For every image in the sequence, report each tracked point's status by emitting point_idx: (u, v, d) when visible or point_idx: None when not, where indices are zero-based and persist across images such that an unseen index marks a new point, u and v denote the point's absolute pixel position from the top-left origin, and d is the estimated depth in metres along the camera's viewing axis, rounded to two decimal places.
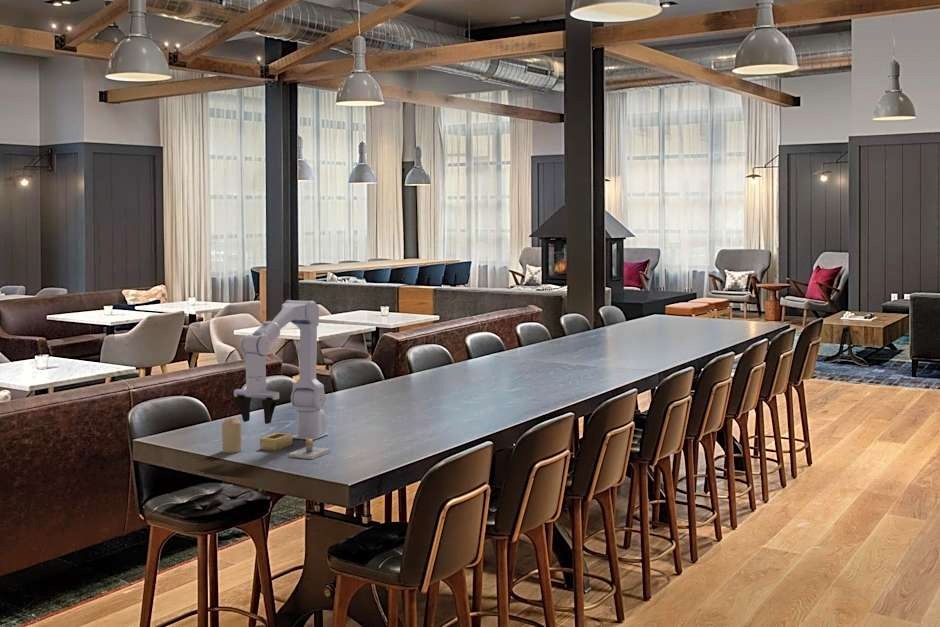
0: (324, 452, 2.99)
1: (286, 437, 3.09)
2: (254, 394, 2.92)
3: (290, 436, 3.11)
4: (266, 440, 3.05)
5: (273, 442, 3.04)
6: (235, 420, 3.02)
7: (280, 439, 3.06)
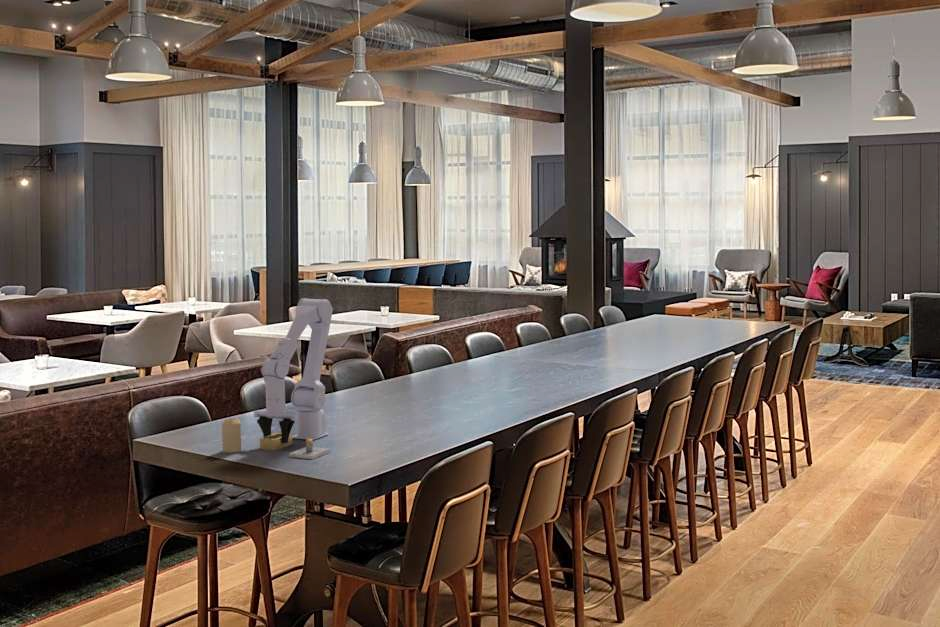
0: (324, 452, 2.99)
1: None
2: (274, 415, 3.05)
3: (290, 436, 3.11)
4: (266, 440, 3.05)
5: (273, 442, 3.04)
6: (235, 420, 3.02)
7: (280, 439, 3.06)
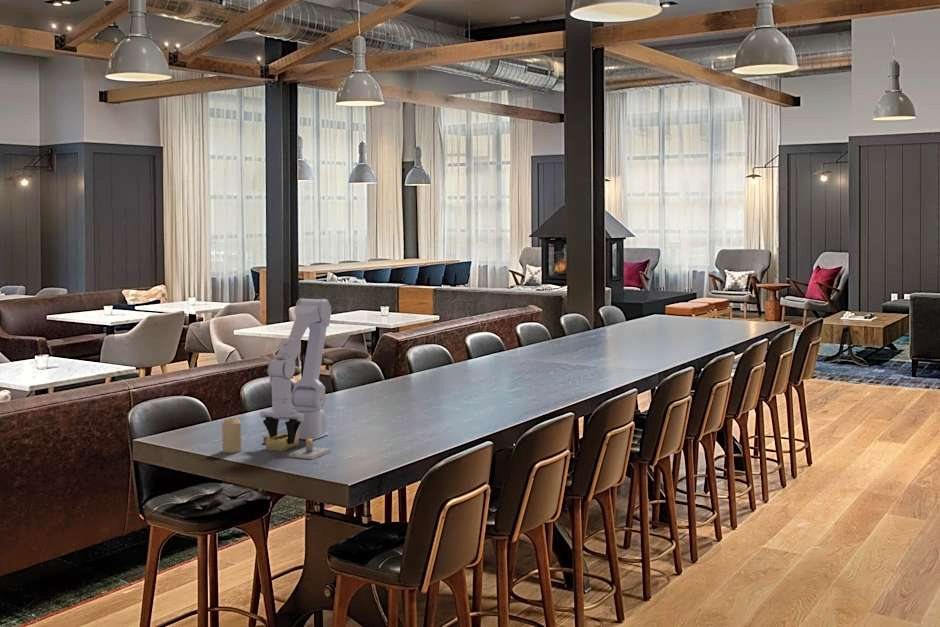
0: (324, 452, 2.99)
1: None
2: (280, 416, 3.04)
3: (296, 437, 3.10)
4: (272, 441, 3.04)
5: (279, 443, 3.03)
6: (235, 420, 3.02)
7: (286, 440, 3.05)
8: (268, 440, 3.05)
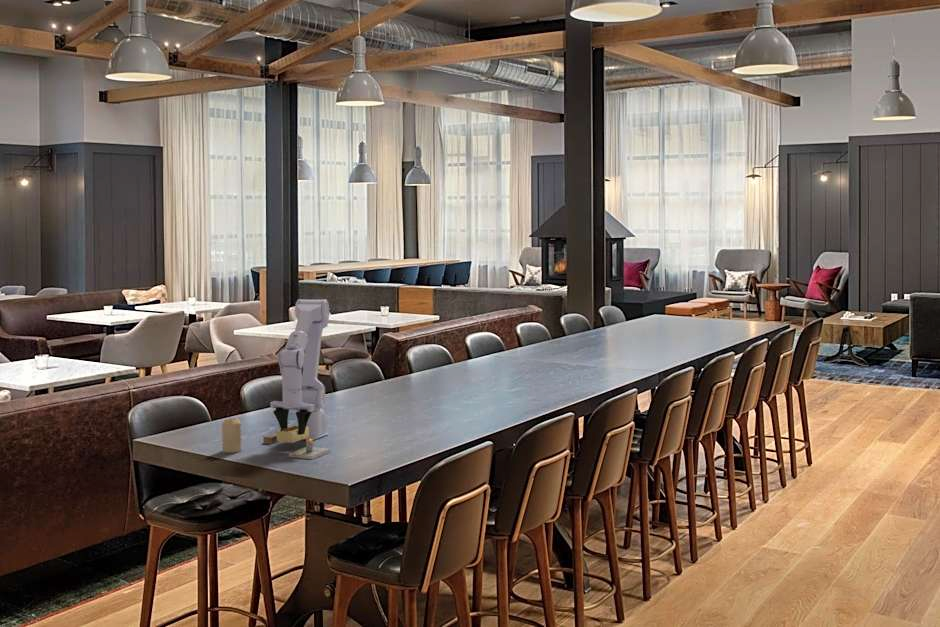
0: (324, 452, 2.99)
1: None
2: (290, 406, 3.02)
3: (307, 428, 3.08)
4: (283, 433, 3.02)
5: (290, 434, 3.01)
6: (235, 420, 3.02)
7: (297, 431, 3.03)
8: (278, 432, 3.03)
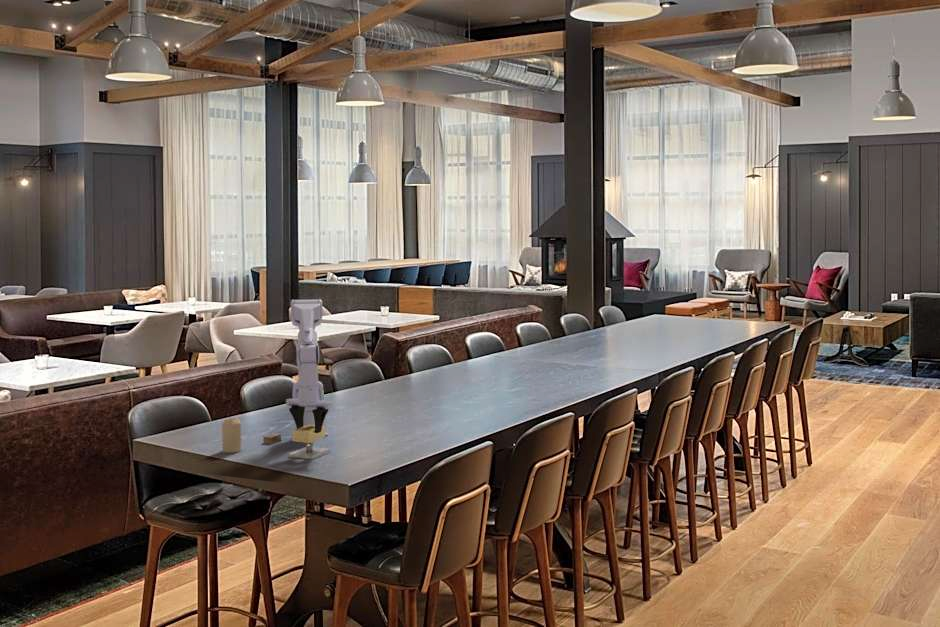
0: (324, 452, 2.99)
1: None
2: (307, 404, 2.94)
3: (323, 428, 3.00)
4: (298, 432, 2.94)
5: (306, 434, 2.93)
6: (235, 420, 3.02)
7: (313, 431, 2.95)
8: (294, 431, 2.94)
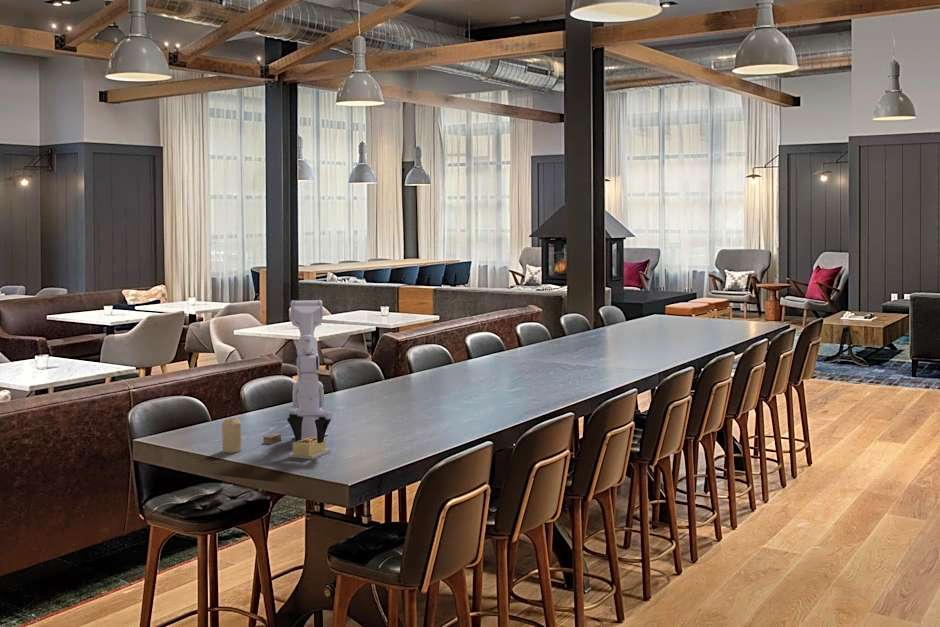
0: (324, 452, 2.99)
1: None
2: (307, 414, 2.94)
3: None
4: (299, 445, 2.94)
5: (306, 447, 2.93)
6: (235, 420, 3.02)
7: (313, 444, 2.95)
8: (294, 444, 2.95)
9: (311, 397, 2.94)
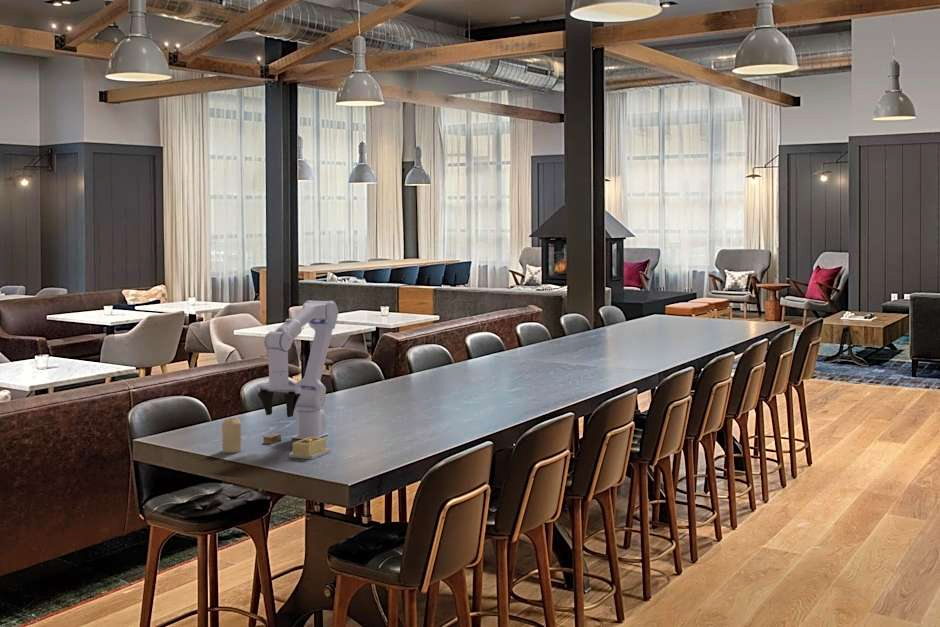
0: (324, 452, 2.99)
1: (319, 441, 2.98)
2: (277, 388, 3.03)
3: (323, 440, 3.00)
4: (299, 445, 2.94)
5: (306, 447, 2.93)
6: (235, 420, 3.02)
7: (313, 444, 2.95)
8: (294, 444, 2.95)
9: (281, 372, 3.03)
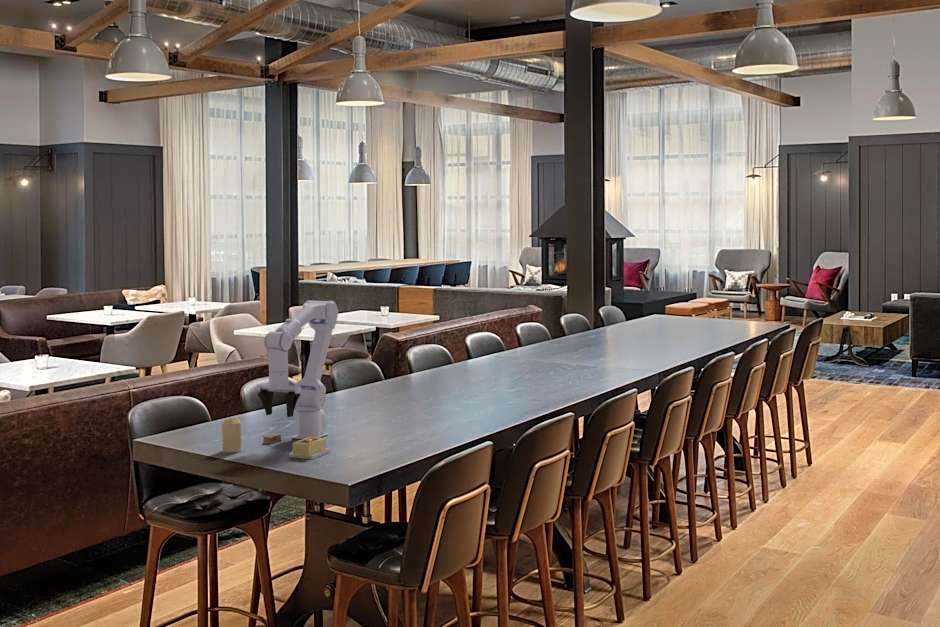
0: (324, 452, 2.99)
1: (319, 441, 2.98)
2: (277, 388, 3.03)
3: (323, 440, 3.00)
4: (299, 445, 2.94)
5: (306, 447, 2.93)
6: (235, 420, 3.02)
7: (313, 444, 2.95)
8: (294, 444, 2.95)
9: (281, 372, 3.03)
